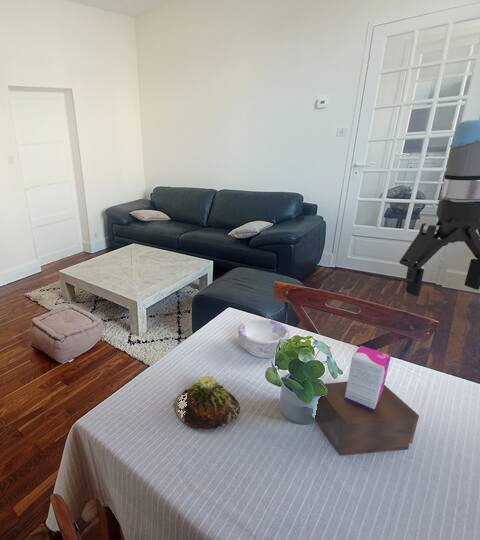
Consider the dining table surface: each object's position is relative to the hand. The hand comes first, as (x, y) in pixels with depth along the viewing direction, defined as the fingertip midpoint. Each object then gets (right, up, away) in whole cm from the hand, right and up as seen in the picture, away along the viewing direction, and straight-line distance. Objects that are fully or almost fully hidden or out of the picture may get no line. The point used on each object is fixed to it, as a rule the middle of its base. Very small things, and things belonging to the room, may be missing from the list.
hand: (441, 290), depth 78 cm
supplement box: (-20, -24, -3) cm, 32 cm away
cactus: (-51, -33, +12) cm, 62 cm away
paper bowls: (-28, -22, +33) cm, 48 cm away
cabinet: (-20, -33, 0) cm, 38 cm away
